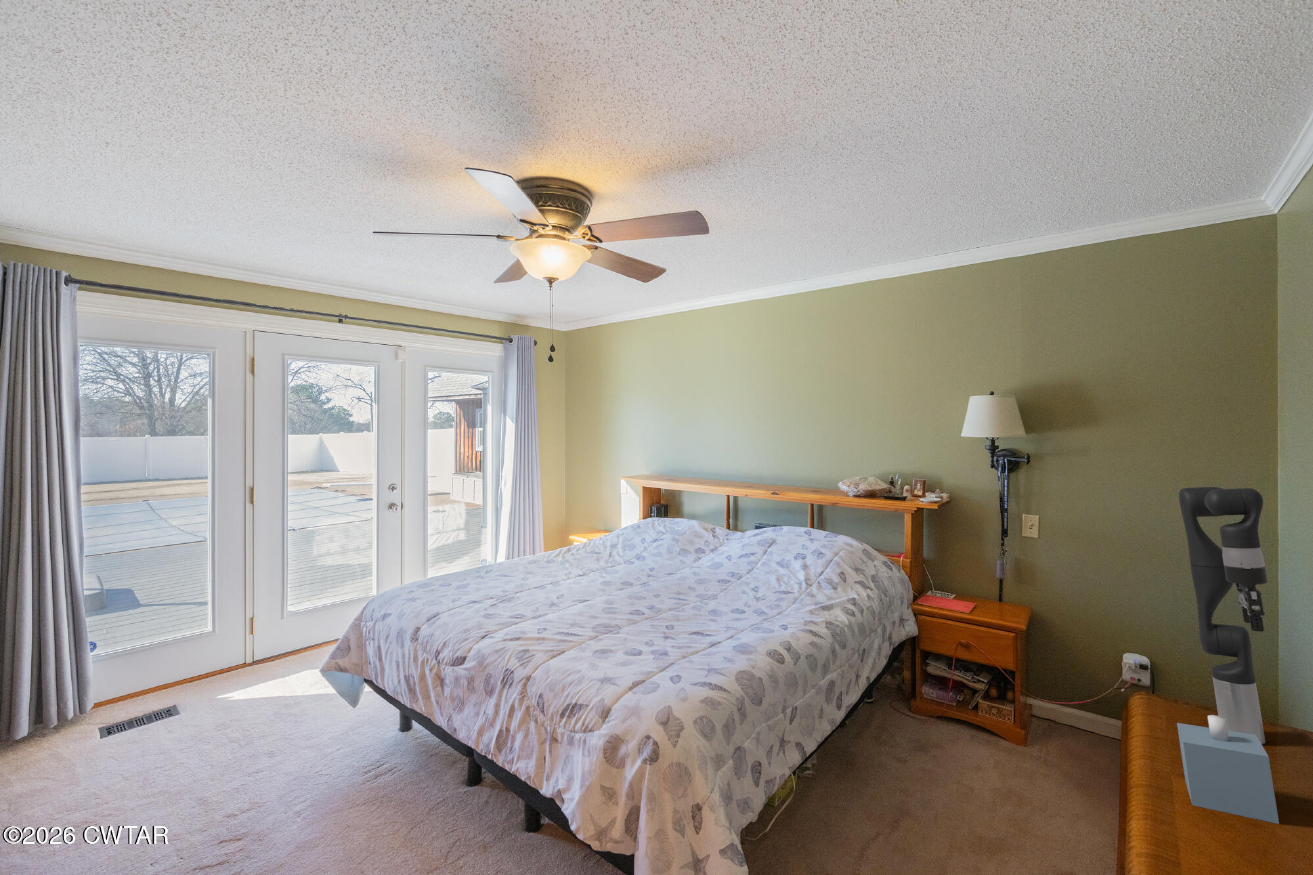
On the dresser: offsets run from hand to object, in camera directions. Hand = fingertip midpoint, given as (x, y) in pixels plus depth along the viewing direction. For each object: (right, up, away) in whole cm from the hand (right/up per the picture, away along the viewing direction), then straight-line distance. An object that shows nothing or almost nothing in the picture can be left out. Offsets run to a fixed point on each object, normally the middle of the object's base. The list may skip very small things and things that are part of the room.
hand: (1253, 626), depth 145 cm
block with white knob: (-14, -41, -8) cm, 44 cm away
